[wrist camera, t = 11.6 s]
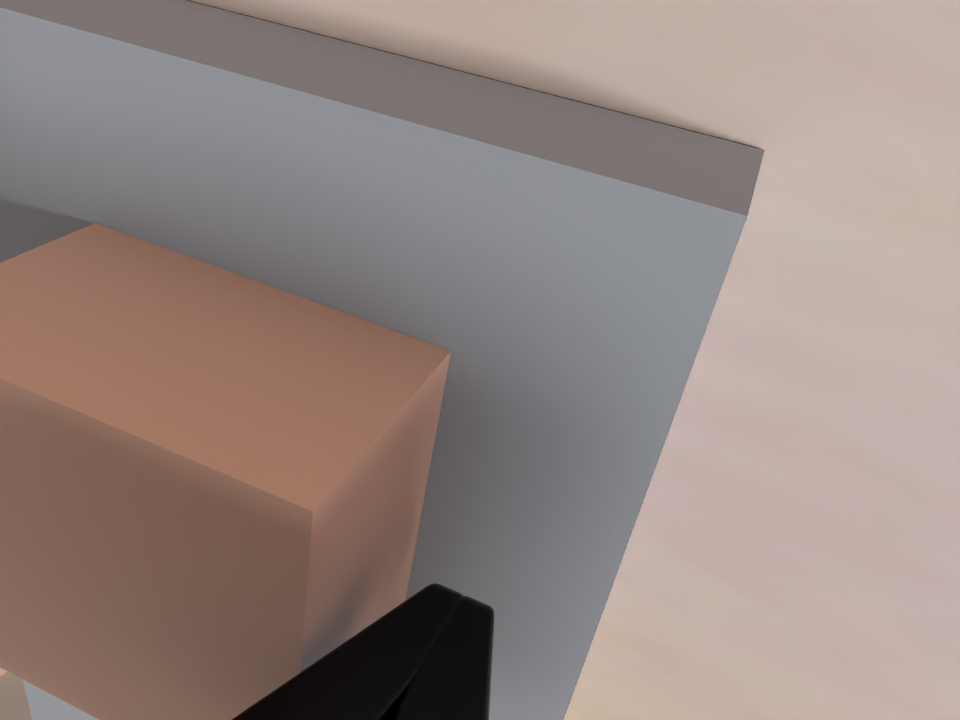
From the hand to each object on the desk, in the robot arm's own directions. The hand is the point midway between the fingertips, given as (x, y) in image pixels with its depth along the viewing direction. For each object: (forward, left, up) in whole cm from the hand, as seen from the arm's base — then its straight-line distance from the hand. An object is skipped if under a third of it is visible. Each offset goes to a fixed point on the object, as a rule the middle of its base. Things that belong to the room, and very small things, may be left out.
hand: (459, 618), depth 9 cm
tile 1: (0, +4, -1) cm, 4 cm away
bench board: (-4, +4, -4) cm, 7 cm away
